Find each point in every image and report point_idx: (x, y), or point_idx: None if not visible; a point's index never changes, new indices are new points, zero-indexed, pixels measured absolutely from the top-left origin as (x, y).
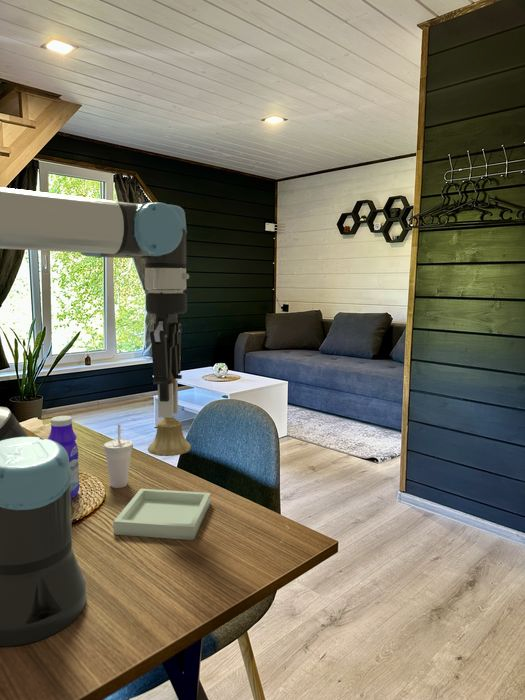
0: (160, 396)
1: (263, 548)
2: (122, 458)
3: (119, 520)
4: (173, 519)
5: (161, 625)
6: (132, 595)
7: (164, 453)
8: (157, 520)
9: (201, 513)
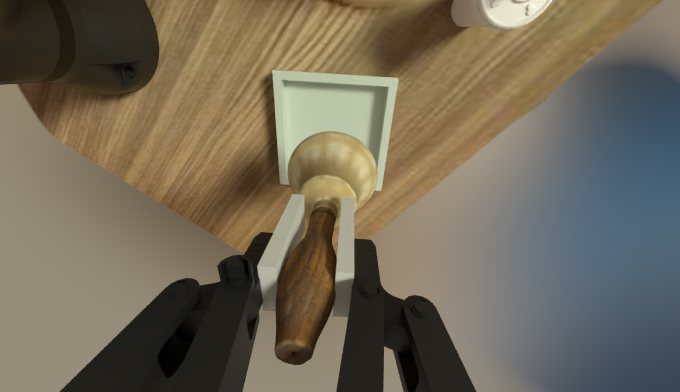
0: (250, 246)
1: None
2: (473, 12)
3: (277, 79)
4: None
5: (141, 172)
6: (167, 136)
7: (288, 176)
8: (317, 126)
9: None
